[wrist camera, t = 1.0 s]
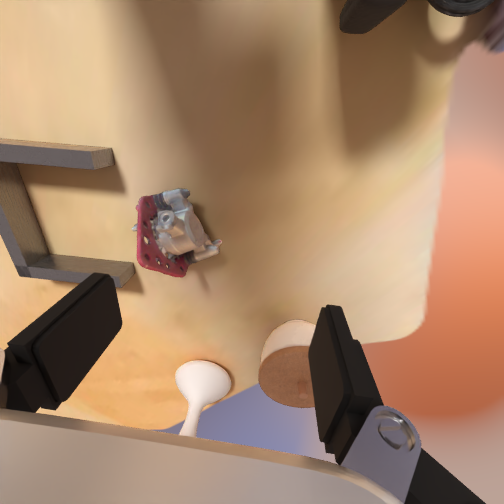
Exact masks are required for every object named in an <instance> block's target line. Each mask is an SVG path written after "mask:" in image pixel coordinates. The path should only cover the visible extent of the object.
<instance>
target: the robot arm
mask: <svg viewBox="0 0 504 504" xmlns="http://www.w3.org/2000/svg"><path fill="white" fill-rule="evenodd" d="M121 327H122V318H121V313H120V308H119V303H118V298H117V293H116V288H115V283H114V279H113V278H111V276H110V275H109V274H104V273H97V272H95V273H93V274H91V275H90V276H89V277H87V278H86V279H85V280H84V281H83V282H81V283H80V284H79V285H78V286H76V287H75V288H74V289H73V290H72V291H70V292H69V293H68V294H67V295H65V296H64V297H63V298H62V299H61V300H59V301H58V302H57V303H56V304H54V305H53V306H52V307H51V308H50V309H48V310H47V311H46V312H45V313H43V314H42V315H41V316H40V317H39V318H37V319H36V320H35V321H34V322H32V323H31V324H30V325H29V326H28V327H26V328H25V329H24V330H23V331H21V332H20V333H19V334H18V335H17V336H15V337H14V338H13V339H12V340H10V341H9V342H8V343H7V344H8V346H9V347H8V348H7V349H5V350H4V351H3V350H2V349H1V348H0V504H486V503H485V502H483V501H482V500H481V499H480V498H479V497H478V496H476V495H475V494H474V493H473V492H471V490H469V489H468V488H467V487H466V486H465V485H464V484H463V483H461V482H460V481H459V480H458V479H457V478H456V477H454V476H453V475H452V474H451V473H450V472H449V471H448V470H446V469H445V468H444V467H443V466H442V465H441V464H439V463H438V462H437V461H436V460H435V459H434V458H432V457H431V456H430V455H429V454H428V453H426V451H424V450H423V449H422V448H421V440H420V436H419V434H418V432H417V430H416V428H415V427H414V425H413V424H412V423H411V421H410V420H409V419H408V418H407V417H405V416H404V415H403V414H402V413H401V412H399V411H397V410H396V409H394V408H391V407H388V406H384V404H383V402H382V399H381V396H380V394H379V391H378V389H377V386H376V383H375V381H374V378H373V375H372V373H371V370H370V368H369V365H368V362H367V360H366V357H365V355H364V352H363V349H362V346H361V344H360V342H359V341H358V340H354V339H353V338H352V335H351V332H350V330H349V327H348V324H347V321H346V318H345V315H344V313H343V310H342V308H341V306H335V305H327V306H326V308H325V307H322V308H321V311H320V315H319V318H318V321H317V324H316V327H315V331H314V334H313V337H312V340H311V344H310V347H309V351H308V359H309V367H310V374H311V381H312V389H313V396H314V403H315V410H316V417H317V426H318V432H319V439H320V441H321V442H324V443H325V450H326V453H331V454H335V459H336V462H337V463H338V465H337V464H334V463H331V462H328V461H324V460H319V459H315V458H311V457H306V456H301V455H296V454H291V453H285V452H280V451H274V450H269V449H263V448H257V447H251V446H245V445H238V444H232V443H227V442H220V441H214V440H208V439H202V438H196V437H190V436H183V435H177V434H171V433H164V432H158V431H152V430H145V429H139V428H132V427H126V426H120V425H113V424H107V423H100V422H93V421H87V420H80V419H74V418H67V417H60V416H54V415H47V414H40V413H36V411H37V410H38V409H39V408H40V407H41V408H43V409H50V410H56V409H57V408H58V407H59V405H60V404H61V403H62V402H64V401H66V400H67V399H68V398H69V397H70V396H71V394H72V393H73V392H74V390H75V389H76V388H77V386H78V385H79V384H80V382H81V381H82V380H83V378H84V377H85V376H86V374H87V373H88V372H89V370H90V369H91V368H92V367H93V365H94V364H95V363H96V361H97V360H98V359H99V357H100V356H101V355H102V353H103V352H104V351H105V349H106V348H107V347H108V345H109V344H110V343H111V341H112V340H113V339H114V337H115V336H116V335H117V333H118V332H119V331H120V329H121Z"/></svg>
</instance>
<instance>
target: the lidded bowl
mask: <svg viewBox="0 0 504 504" xmlns="http://www.w3.org/2000/svg"><path fill="white" fill-rule="evenodd" d="M315 327H316V325H314V324H312V323H310V322H308V321H305V320H290V321H287V322H285V323H283V324H282V325H280V326H279V327H277V328H276V329H275V330H274V331H273V332H272V333H271V334H270V335H269V337H268V338H267V340H266V342H265V345H264V347H263V351H262V356H261V363H260V369H259V384H260V386H261V388H262V390H263V391H264V392H265V394H266V395H267V396H268V397H270V398H271V399H273V400H274V401H276V402H278V403H281V404H283V405H287V406H292V407H298V408H310V407H315V403H314V396H313V389H312V381H311V374H310V367H309V359H308V351H309V347H310V344H311V340H312V337H313V334H314V331H315Z"/></svg>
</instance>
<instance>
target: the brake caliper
mask: <svg viewBox="0 0 504 504" xmlns="http://www.w3.org/2000/svg"><path fill="white" fill-rule="evenodd" d="M189 195H190V192H189V191H188V190H187V189H175V190H170V191H165V192H162V193H160V194H156V195H151V196H143V197H141V198H140V199H139V205H137V206H136V210H137V211H138V223H137V224H136V225H135V226H134V227H133V228H132V230H133V231H137V260H138V263H139V264H140V265H141V266H142V267H144V268H146V269H149V270H154V271H158V272H161V273H163V274H167V275H170V276H173V277H184V276H185V275H186V272H187V269H188V267H189V266H190V265H191V264H192V263H196V262H198V261H201V260H203V259H206V258H209V257H211V256H214V255H217V254H219V252H220V250H219V248H218V247H219V245H220V244H222V240H220V239H218V240H215V241H212V242H211V240H210V237H209V236H208V235H207V234H206V233H204V230H203V227H202V225H201V223H200V221H199V219H198V218H197V216H196V215H195V214H194V212H193V205H192V204H191V203H190V202H189V201H188V199H187V197H188V196H189ZM144 236H145V237H146V238H147V241H148V244H147V243H146V242H145V240H144ZM165 253H167V254H168V258H167V256H166V255H165ZM158 261H159V262H160V265H159V264H158V263H157V262H158ZM166 265H167V266H168V268H167V266H166Z"/></svg>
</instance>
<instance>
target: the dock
mask: <svg viewBox="0 0 504 504" xmlns="http://www.w3.org/2000/svg"><path fill="white" fill-rule="evenodd" d="M16 163H25V164H36V165H47V166H59V167H70V168H81V169H92V170H95V169H99V168H103V167H107V166H111V165H115V164H114V159H113V154H112V148H105V147H93V146H82V145H70V144H58V143H46V142H35V141H23V140H11V139H0V235H1V237H2V239H3V241H4V243H5V245H6V248H7V250H8V252H9V254H10V256H11V259H12V261H13V263H14V265H15V267H16V269H17V272H18V274H19V276H21V277H30V278H39V279H48V280H57V281H66V282H75V283H81V282H83V281H84V280H85V279H86V278H87V277H89V276H90V275H91V274H93V273H95V272H97V273H104V274H109V275H110V276H111V278H113V279H114V283H115V287H119V288H122V287H123V286H124V284H125V283H126V282H127V281H128V280H129V279H130V278H131V277H132V276H133V275H134V274H135V270H134V265H133V263H131V262H121V261H112V260H103V259H93V258H84V257H75V256H65V255H56V254H49V251H48V249H47V246H46V243H45V241H44V238H43V235H42V232H41V230H40V227H39V224H38V222H37V219H36V216H35V213H34V211H33V208H32V205H31V203H30V200H29V197H28V195H27V192H26V189H25V186H24V184H23V181H22V178H21V176H20V173H19V170H18V167H17V165H16Z"/></svg>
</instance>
